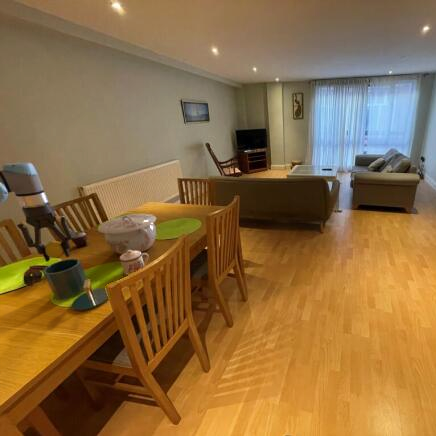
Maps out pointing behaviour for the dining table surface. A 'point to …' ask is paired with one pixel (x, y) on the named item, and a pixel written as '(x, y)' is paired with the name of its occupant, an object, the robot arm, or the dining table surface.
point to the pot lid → (90, 297)
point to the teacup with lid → (132, 261)
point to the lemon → (54, 249)
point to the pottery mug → (33, 274)
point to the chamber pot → (129, 232)
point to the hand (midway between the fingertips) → (58, 257)
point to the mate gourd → (79, 239)
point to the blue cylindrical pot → (65, 278)
